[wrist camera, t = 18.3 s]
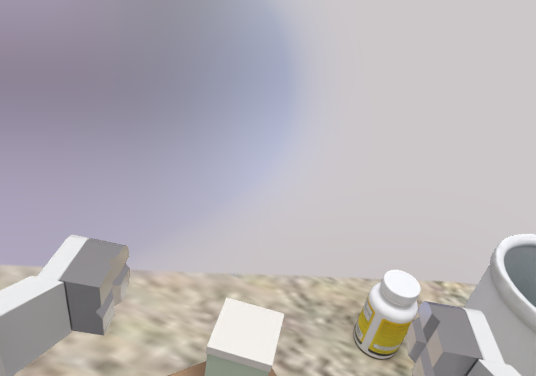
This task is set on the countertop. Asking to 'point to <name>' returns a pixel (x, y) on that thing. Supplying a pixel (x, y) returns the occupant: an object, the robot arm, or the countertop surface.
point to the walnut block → (201, 371)
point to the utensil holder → (511, 301)
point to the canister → (243, 340)
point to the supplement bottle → (387, 314)
